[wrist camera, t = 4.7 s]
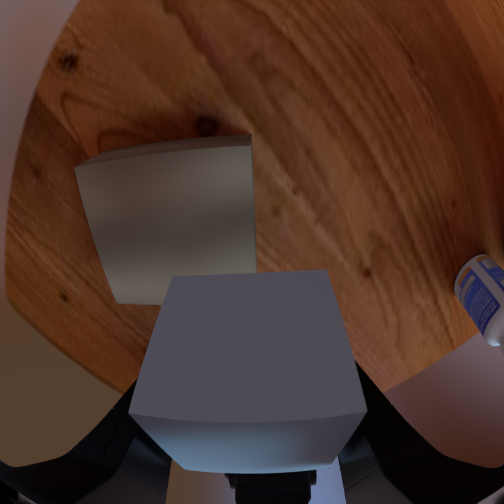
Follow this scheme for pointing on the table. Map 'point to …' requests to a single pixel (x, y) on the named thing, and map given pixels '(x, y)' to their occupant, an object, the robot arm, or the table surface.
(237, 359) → the slate cube
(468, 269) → the pill bottle
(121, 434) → the robot arm
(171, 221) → the taupe base block
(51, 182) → the table surface
